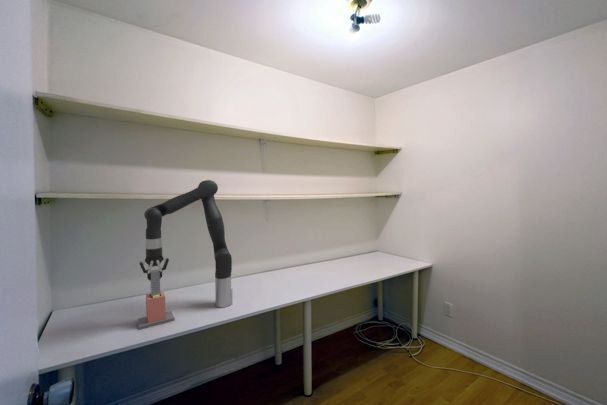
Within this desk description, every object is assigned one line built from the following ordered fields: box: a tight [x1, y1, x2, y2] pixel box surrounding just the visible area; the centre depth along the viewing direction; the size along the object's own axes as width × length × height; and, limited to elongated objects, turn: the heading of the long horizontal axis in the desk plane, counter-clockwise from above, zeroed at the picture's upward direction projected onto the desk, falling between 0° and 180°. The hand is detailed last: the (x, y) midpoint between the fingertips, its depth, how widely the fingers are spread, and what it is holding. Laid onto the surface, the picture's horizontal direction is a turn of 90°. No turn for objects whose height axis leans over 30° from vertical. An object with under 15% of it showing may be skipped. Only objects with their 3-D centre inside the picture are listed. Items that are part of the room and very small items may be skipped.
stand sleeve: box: [137, 290, 175, 331], centre depth 143 cm, size 16×10×15 cm, turn 125°
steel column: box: [149, 268, 161, 298], centre depth 142 cm, size 4×4×18 cm
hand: (154, 279), depth 142 cm, fingers closed on steel column, 4 cm apart
